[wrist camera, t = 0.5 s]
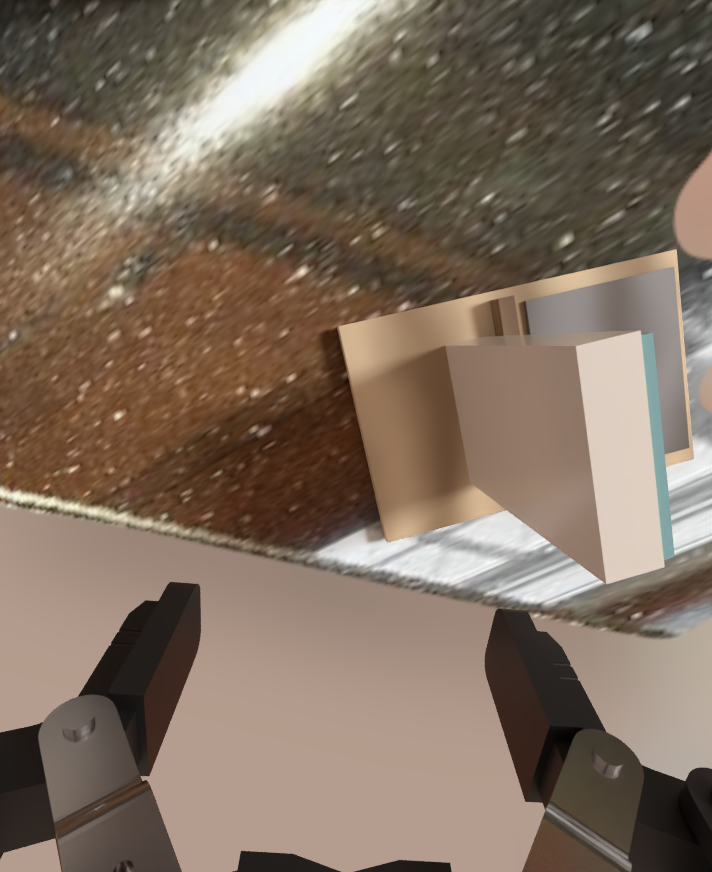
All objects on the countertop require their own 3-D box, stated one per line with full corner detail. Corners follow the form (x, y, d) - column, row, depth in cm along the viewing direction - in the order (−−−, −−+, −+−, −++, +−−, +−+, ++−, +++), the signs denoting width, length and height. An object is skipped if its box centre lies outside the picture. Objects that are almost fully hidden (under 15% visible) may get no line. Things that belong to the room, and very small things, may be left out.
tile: (470, 483, 32) (606, 584, 19) (445, 345, 30) (575, 346, 17) (513, 471, 33) (678, 562, 19) (491, 334, 31) (656, 326, 17)
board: (384, 536, 33) (391, 549, 31) (336, 326, 30) (340, 325, 28) (682, 455, 35) (708, 463, 33) (664, 252, 32) (691, 245, 30)
